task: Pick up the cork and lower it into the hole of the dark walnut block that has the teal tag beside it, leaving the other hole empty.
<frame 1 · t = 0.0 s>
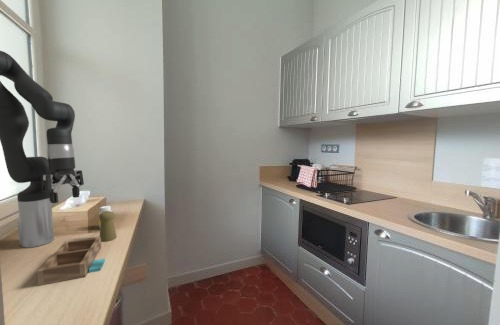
hand: (65, 200, 85), 17 cm above the worktop, tool pointing down, fingers open, 8 cm apart
socket block: (74, 263, 73), on the worktop
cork: (108, 239, 92), on the worktop
supplement bottle: (106, 228, 104), on the worktop
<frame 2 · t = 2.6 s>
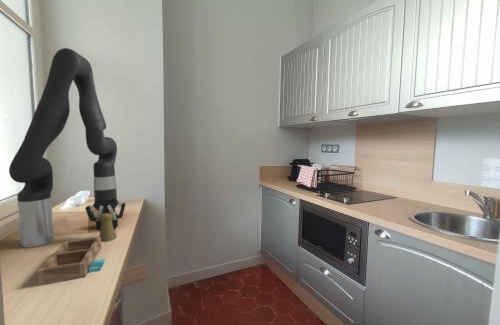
hand: (107, 229, 92), 4 cm above the worktop, tool pointing down, fingers closed on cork, 4 cm apart
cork: (108, 239, 92), on the worktop, touching gripper
everything else where it was.
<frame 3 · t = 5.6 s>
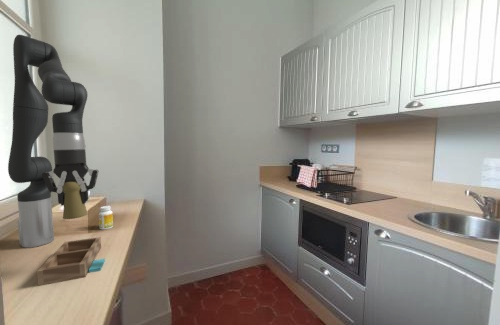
hand: (74, 203, 70), 20 cm above the worktop, tool pointing down, fingers closed on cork, 4 cm apart
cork: (75, 216, 71), point 16 cm above the worktop, touching gripper
everything else where it was.
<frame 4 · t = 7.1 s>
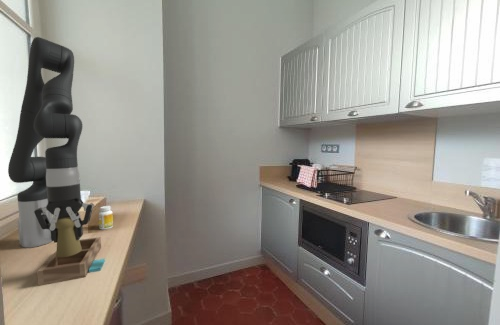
hand: (67, 239, 68), 10 cm above the worktop, tool pointing down, fingers closed on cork, 4 cm apart
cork: (69, 253, 68), point 6 cm above the worktop, touching gripper
everything else where it was.
when the fingers open (5 cm above the worktop, at t = 8.5 s): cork stays where it is, resting on socket block.
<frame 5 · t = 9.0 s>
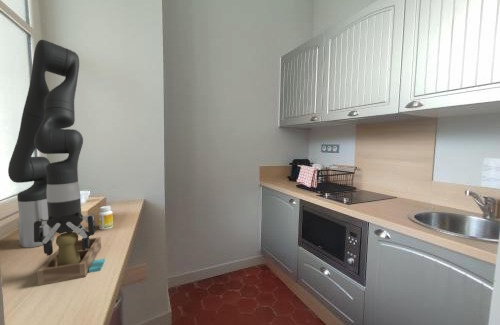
hand: (68, 251, 68), 6 cm above the worktop, tool pointing down, fingers open, 8 cm apart
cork: (69, 269, 68), resting on socket block
everything else where it was.
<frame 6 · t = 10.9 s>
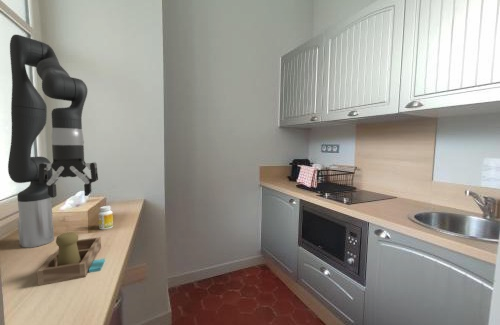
hand: (70, 196, 71), 22 cm above the worktop, tool pointing down, fingers open, 8 cm apart
nothing on the worktop moved.
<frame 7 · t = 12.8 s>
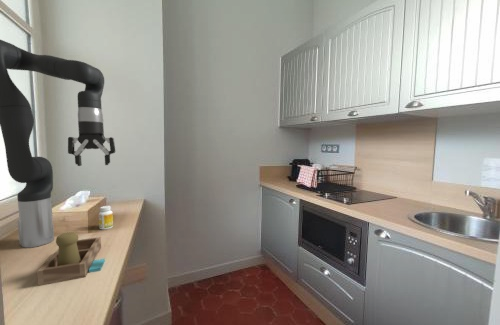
hand: (93, 165, 85), 30 cm above the worktop, tool pointing down, fingers open, 8 cm apart
nothing on the worktop moved.
at the end: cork 0.1 cm from the target spot on the socket block, point 0.4 cm above the socket block's base; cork tilted 0°; the gripper is holding nothing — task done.
